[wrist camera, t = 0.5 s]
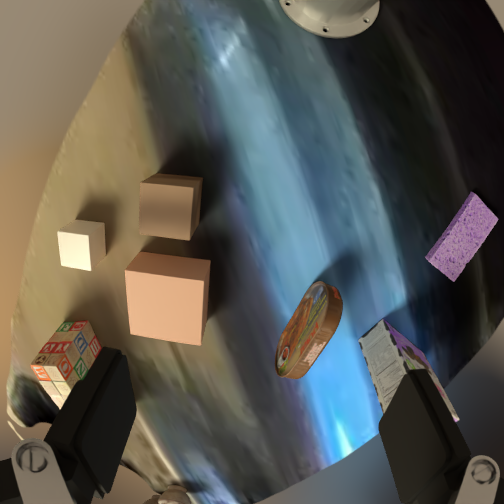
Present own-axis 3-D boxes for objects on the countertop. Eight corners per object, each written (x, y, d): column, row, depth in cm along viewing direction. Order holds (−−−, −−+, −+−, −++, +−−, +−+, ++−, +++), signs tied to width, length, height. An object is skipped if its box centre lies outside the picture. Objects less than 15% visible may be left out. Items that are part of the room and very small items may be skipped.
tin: (318, 269, 43) (329, 302, 35) (337, 277, 44) (352, 311, 36) (272, 348, 49) (273, 387, 41) (290, 354, 49) (293, 393, 42)
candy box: (425, 353, 49) (461, 420, 34) (400, 373, 51) (430, 442, 36) (383, 316, 46) (421, 392, 31) (355, 340, 48) (383, 420, 33)
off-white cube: (75, 219, 41) (57, 231, 36) (104, 222, 41) (88, 235, 37) (77, 251, 43) (61, 265, 38) (106, 255, 43) (91, 270, 39)
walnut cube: (156, 173, 38) (140, 182, 33) (203, 177, 39) (193, 187, 33) (154, 218, 41) (139, 233, 35) (199, 223, 41) (189, 240, 36)
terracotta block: (140, 250, 43) (124, 270, 37) (210, 259, 43) (203, 280, 38) (143, 310, 47) (130, 334, 41) (206, 320, 47) (200, 345, 42)
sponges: (423, 256, 43) (428, 261, 41) (470, 189, 38) (476, 192, 36) (448, 277, 44) (454, 283, 42) (492, 215, 39) (499, 219, 38)
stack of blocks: (134, 404, 56) (118, 451, 45) (109, 403, 57) (90, 448, 46) (88, 319, 48) (55, 366, 37) (62, 321, 49) (28, 365, 37)
